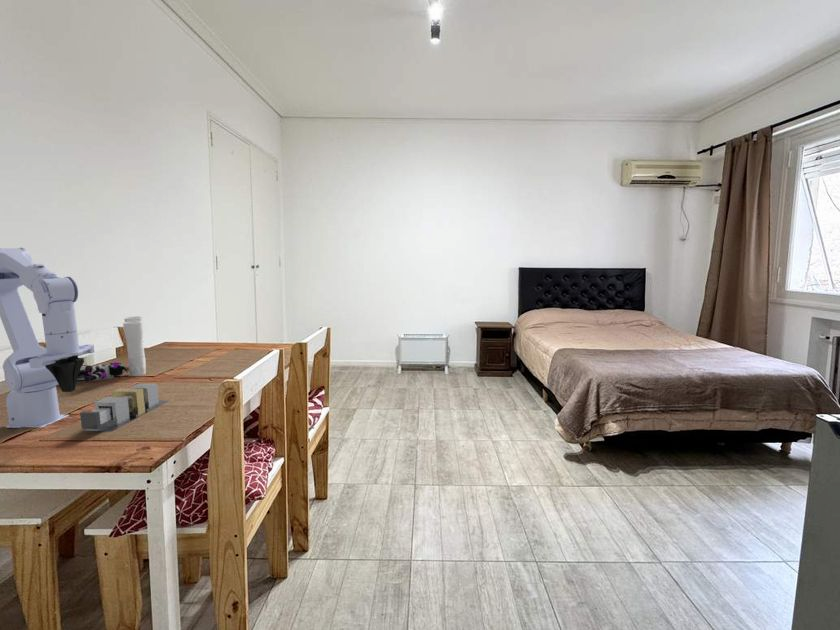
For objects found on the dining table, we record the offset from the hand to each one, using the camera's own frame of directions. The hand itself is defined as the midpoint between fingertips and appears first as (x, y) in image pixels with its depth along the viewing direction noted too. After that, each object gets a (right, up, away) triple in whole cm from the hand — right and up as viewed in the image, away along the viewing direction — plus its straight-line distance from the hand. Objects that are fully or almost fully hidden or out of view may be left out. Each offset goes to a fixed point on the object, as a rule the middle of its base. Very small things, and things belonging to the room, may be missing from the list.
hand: (68, 391), depth 101 cm
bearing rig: (+6, -9, +13) cm, 16 cm away
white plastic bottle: (-20, -2, +56) cm, 59 cm away
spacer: (+6, -8, +12) cm, 16 cm away
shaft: (+6, -7, +9) cm, 13 cm away
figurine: (-30, -5, +43) cm, 53 cm away
